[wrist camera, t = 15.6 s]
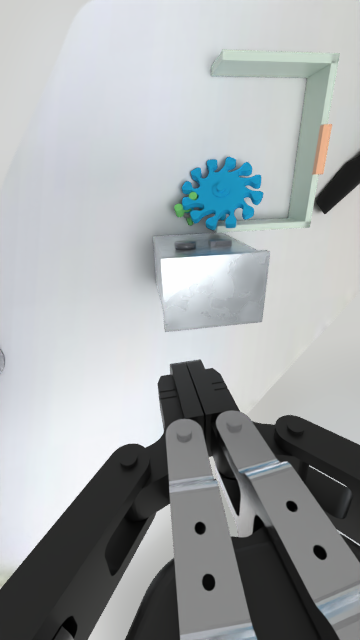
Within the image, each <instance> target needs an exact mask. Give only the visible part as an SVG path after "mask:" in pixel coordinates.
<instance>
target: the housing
mask: <svg viewBox="0 0 360 640" xmlns="http://www.w3.org/2000/svg"><path fill="white" fill-rule="evenodd" d="M153 244H154V258H155V272H156V285H157V288H158V292H159V296H160V300H161V304H162V308H163V313H164V329H165V332H169V331H179V330H189V329H198V328H208V327H218V326H228V325H237V324H247V323H257V322H262V317H263V309H264V300H265V292H266V283H267V275H268V266H269V257H270V251H267V250H260V251H258V250H256V249H254V248H252V247H250V246H248V245H246V244H244V243H242V242H240V241H238V240H236V239H234V238H232V237H230V236H228V235H226V234H224V233H222V232H221V233H200V234H182V235H165V236H153Z"/></svg>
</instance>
